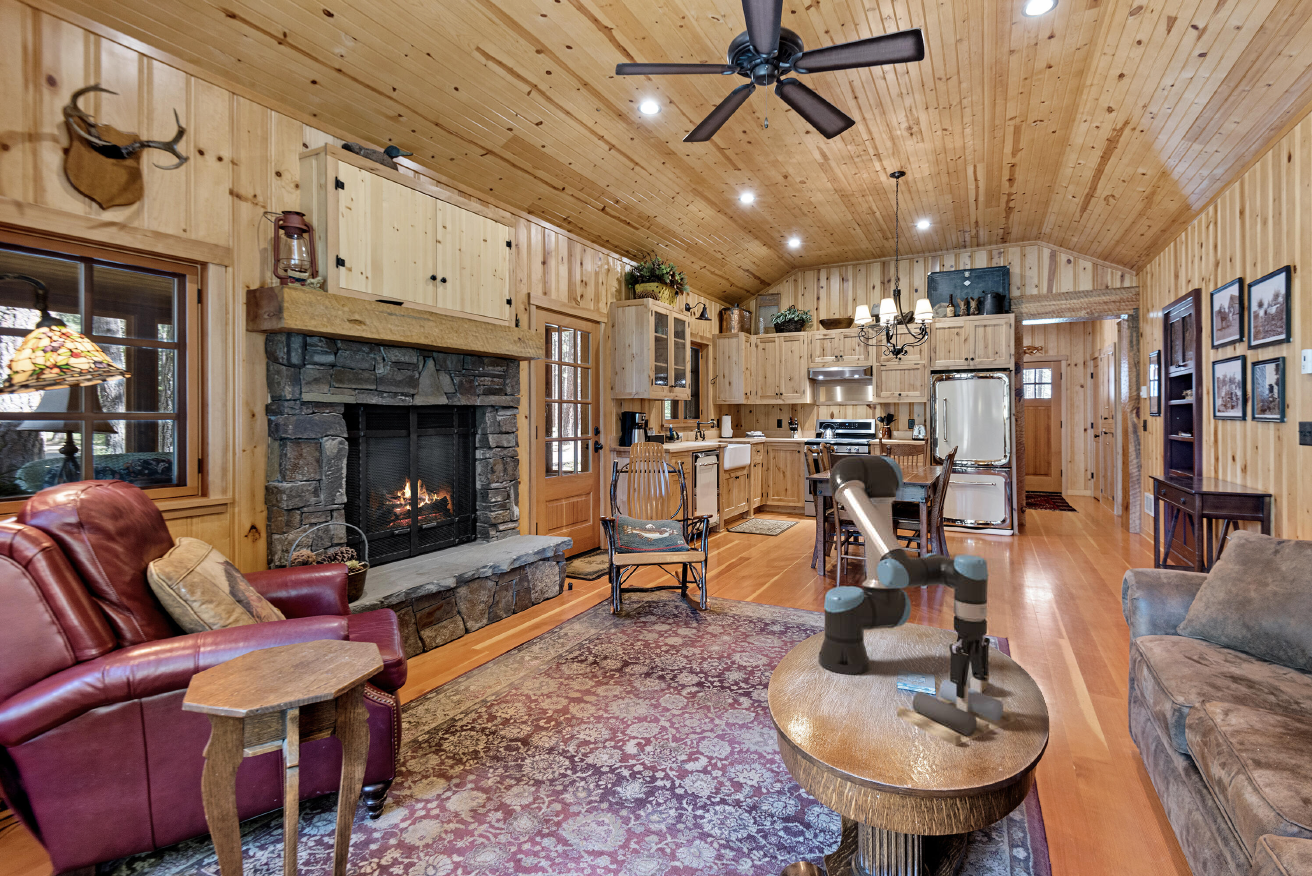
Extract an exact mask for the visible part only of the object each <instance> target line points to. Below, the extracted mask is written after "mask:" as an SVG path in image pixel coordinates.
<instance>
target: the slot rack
mask: <svg viewBox="0 0 1312 876" xmlns="http://www.w3.org/2000/svg"><path fill="white" fill-rule="evenodd" d="M940 700H941V701H943V702H945V703H948V704H950V705H952V706H954V707H957V704H955V703H952V702H950V701H948V700H945V699H940ZM968 713H970V714H972V715H974V716H975V717H976V720H977V726H976V729H975V731H974V733H973V734H972V735H971V736H967V735H964V734H962V733H960V732H958V731H956V730H954V729H952V728H950V727H948V726H946V725H944V724H942V723H940V722H938V721H936V720H934V719H931V718H929V717H927V716H925V715H923V714H921V713H919V712H917V711H915V710H914V709H913V710H911V709H908V708H906V707H904V706H902V705H901V706H899V707H897V708H896V717H897V718H900V719H902V720H904V721H906V722H907V723H910V724H912V725H914V726H915V727H917V728H919V729H922V730H924V731H925V732H928V734H931V735H933V736H935V737H937V738H939V739H940V740H942V741H945V742H947V743H948V744H950V745H952V746H954V747H957V746H958V745H962V744H963V743H965V742H968V741H970V740H973V739H974V738H977V737H978V738H979V737H980V736H982V735H985V734H987V733H990V732H991V731H994V730H997V729H999V728H1001V727H1003V726H1006V725H1009V724H1011V723H1013V722H1015V721H1016V711H1013V710H1010V709H1008V708H1005V707H1003V713H1002V716H1001V718H1000V719H999V720H998V721H994V720H991V719H989V718H987V717H984V716H982V715H980V714H978V713H975V712H973V711H971V710H968Z"/></svg>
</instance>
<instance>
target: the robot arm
mask: <svg viewBox="0 0 1312 876" xmlns="http://www.w3.org/2000/svg"><path fill="white" fill-rule="evenodd" d="M829 473H830V474H829V477H828V478H829V479H828V480H829V481H828V484H829V489H830V492H831V494H832V496H833V497H834V499H835V501H836V502H837V503H840V504H842V506H843V507H844V508H845V510H846V512H847V514H848V515H849V517H850V519H852V521H853V523H854V525H855V526H856V528H857V529H858V531H859V533H860V535H862V537H863V538H864V549H865V550H864V551H865V567H866V569H865V570H866V580H864V581H863V582H862V584H861V586H862V587H858V586H852V585H850V586H845V585H842V586H837V587H833V588H831V589H829V590H827V592H826V593H825V596H824V597H825V598H824V604H823V606H824V607H823V608H824V638H823V642H822V644H821V648H820V651H819V653H818V663H819V665H820V666H821V667H822V668H824V669H826V670H828V671H831V672H834V673H839V674H844V675H845V674H846V675H858V674H863V673H866V672H868V671H869V670H870V668H871V667H870V663H871V662H870V658H869V656H868V653H867V649H866V646H865V642H864V641H865V640H864V638H865V637H864V636H865V631H870V630H880V629H894V628H896V627H901V626H904V625H905V623H907V622H908V621H909V618H910V616H911V611H912V605H911V599H910V598H909V595H908V593H907V592H906V591H905V590H903V589H905V588H912V587H928V586H944V587H947V588H949V589H953V591H954V592H953V593H954V595H953V614H954V616H953V630H954V631H955V632H956V634H957V638H956V643H954V644H952V643H950V644H949V646H948V648H949V651H950V663H949V664H950V667H949V668H950V670H949V672H950V673H949V675H950V676H949V677H950V679H949V680H950V681H951V682H953V683H955V684H956V696H957V708H959V709H961V710H963V711H965V712H968V692H969V686H968V685H966V683H967V677H968V671H969V664H970V662H971V668H972V675H973V677H974V678H973V677H972V678H970V689H972V690H974V691H977V692H979V693H982V694H983V691H982V680H983V681H987V678H986V677H984V676H988V671H989V648H990V642H991V639H990V637H986V635H987V633H988V632H987V631H988V621H987V620H986V618H987V617H988V613H987V612H988V579H989V572H988V571H989V570H988V562H987V560H986V559H985V558H984V557H981V556H979V555H978V556H977V555H971V554H959V555H956V556H955V557H954V558H951V557H948V556H945V555H943V554H939V553H934V552H932V553H931V552H929V553H926V554H925V555H923V556H921V557H910V556H909V555H908V553H907V551H905V549H904V547H902V544H901V543H900V542H899V541H898V539H897V537H896V535H894V529H893V527H894V526H893V510H892V503H893V502H894V501H895V500H896V499H897V492H899V491H900V490H901V489H902V486H903V485H904V484H903V483H904V474H903V471H902V468H901V466H900V464H899V463H898V462H897V461H896V459H894V458H892V457H889V456H881V455H876V456H847V457H843V458H842V459H840V460H838V461H837V462H836V463H835V464H834V465H833V467H832V468H831V470H830V472H829ZM983 669H984V670H983Z"/></svg>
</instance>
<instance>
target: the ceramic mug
mask: <svg viewBox="0 0 1312 876" xmlns="http://www.w3.org/2000/svg"><path fill="white" fill-rule="evenodd" d="M983 670H984V669H983ZM972 677H973V675H972V668H971V662H970V664H969V671H968V677H967V683H966V685H968V686H969V688H970V678H972ZM984 677H986V678H987V681H983V680H982V692H984V691H985V690H986V689H987V687H988V684H989V681H990V672H989V670H988V676H984ZM973 678H974V677H973Z"/></svg>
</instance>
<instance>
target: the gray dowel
mask: <svg viewBox="0 0 1312 876" xmlns="http://www.w3.org/2000/svg"><path fill="white" fill-rule="evenodd" d="M939 696H940V698H941V699H942V700H944V699H945V700H948V701H950V702H952V703H955V704H957V696H956V684H955V683H953V682H951V681H950V679H944V680H943V681H942V682H941V683H940V685H939ZM1003 708H1004V704H1003V702H1002V701H1001V700H1000V699H997V698H994V697H992V696H989V695H987V694H984V693H983V692H982V693H979V692H977V691H974V690H972V689H970V688H969V692H968V710H971V711H973V712H975V713H978V714H980V715H982V716H984V717H987V718H989V719H991V720H994V721H998V720H999V719H1000V718H1001V716H1002V713H1003Z"/></svg>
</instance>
